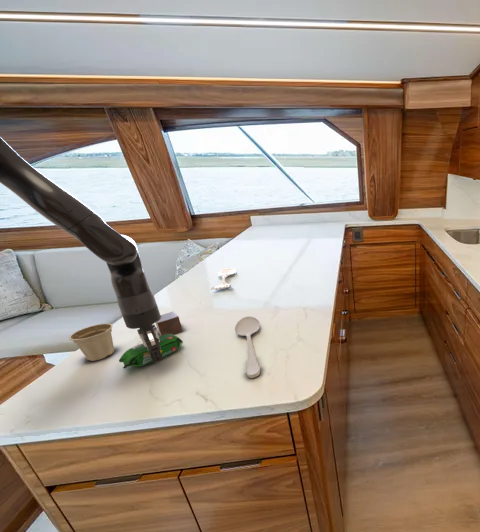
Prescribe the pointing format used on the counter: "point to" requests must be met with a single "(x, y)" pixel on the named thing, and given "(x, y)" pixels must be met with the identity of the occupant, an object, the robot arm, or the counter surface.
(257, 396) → the counter surface
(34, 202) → the robot arm
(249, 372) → the spoon
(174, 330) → the walnut block
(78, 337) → the flower pot
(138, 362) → the snack package
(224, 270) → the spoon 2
